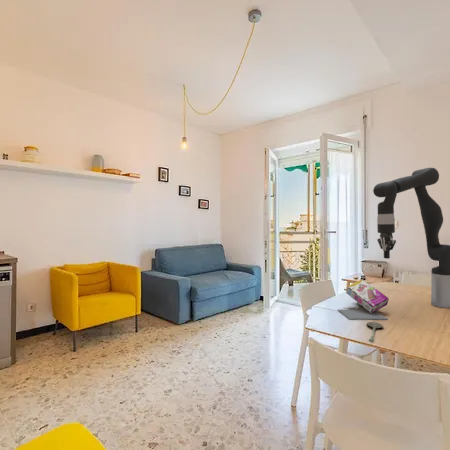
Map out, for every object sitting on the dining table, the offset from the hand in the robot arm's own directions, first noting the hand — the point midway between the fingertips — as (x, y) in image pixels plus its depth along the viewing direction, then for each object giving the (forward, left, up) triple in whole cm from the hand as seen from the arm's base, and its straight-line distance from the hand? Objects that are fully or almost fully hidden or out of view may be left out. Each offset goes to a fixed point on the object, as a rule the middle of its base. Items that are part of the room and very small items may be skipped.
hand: (386, 258), depth 145 cm
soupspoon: (+19, +25, -28) cm, 42 cm away
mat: (+13, +3, -27) cm, 31 cm away
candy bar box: (+4, +2, -23) cm, 24 cm away
